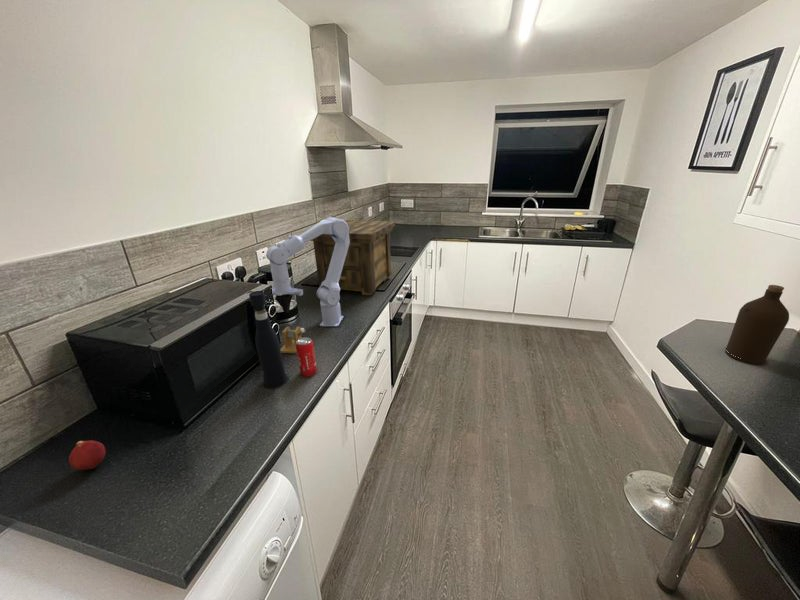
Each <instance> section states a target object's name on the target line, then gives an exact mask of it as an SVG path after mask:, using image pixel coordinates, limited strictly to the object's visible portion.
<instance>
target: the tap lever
mask: <svg viewBox="0 0 800 600" xmlns="http://www.w3.org/2000/svg"><path fill="white" fill-rule="evenodd" d="M294 330H295V329H290V330H288V333H287V337H292V338H294V336H293V332H294ZM300 330H301V336H305V334H306V333H307V331H306V329H305V328H304V327H300Z"/></svg>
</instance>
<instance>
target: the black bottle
mask: <svg viewBox="0 0 800 600" xmlns="http://www.w3.org/2000/svg"><path fill="white" fill-rule="evenodd" d="M248 296H249V301H250V305H251V306H252V307H253V308H254V317H255V319H254V321H255V326H256V330H255V337H254V338H255V340H254V341H255V347H256V352H257V357H258V361H259V365H260V369H261V374H262V377H263V381H264V385H265V387H266V388H271V389H272V388H277V387H280V386H282V385H283V384H285V383H286V382H287V375H286V370H285V366H284V360H283V355H282V353H281V350H280V349H281V346H280V340H279V337H278V335H277V333H276V331H275V329H274V328H273V326H272V325H271V321H270V316H269V315H268V311H267V310H266V307H265V305H266V304H267V300H266V295H264V290H256V291H255V290H254V291H251V292H249V294H248Z"/></svg>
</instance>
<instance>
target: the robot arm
mask: <svg viewBox="0 0 800 600" xmlns="http://www.w3.org/2000/svg"><path fill="white" fill-rule="evenodd" d="M344 220H345V219H341V218H337V217H336V218H335V217H333V216H327V217H326V218H324V219H321V220H319V222H317V223H316V224H315V225H313V226H312V227H310V228H309V229H307V230H305V231H304V232H302V233H301V234H300V235H295V234H293V235H292V234H290V235H288V236H287V238H286V239H285V240H283V241H281V242H277V243H276V245H272V246H269V248H267V251H266V254H265V257H266V259H267V260H268V261H269V265H270V272H271V278H272V282H273V288H271V289H272V295H271V296H274V300H275V301H276V302H277V303H278V304H279V306H280V307H281V309H282V312H283V313H284V314H289V313H290V311H291V302H292V300H293V296H298V297H301V296H303V295H304V289H302V288H295V287H292V286H291V281H290V275H289V270H288V264H287V261H288V259H289V258H290V257H292V256H293V255H295V254H296V253H298V252H300V251H301V250H303V249H304V247H305V244H306V243H308V242H311V241H310V240H312V239H314V238H316V237H318V236H320V235H321V234H330V235H331V236H332V238H333V239H334V241H335V247H334V251H333V254H332V258H331V261H330V265H329V268H328V272H327V276H326V279H325V280H324V281H323V282H322V283H321V286H320V288H319V287H318V289H317V290H316V297H317V298H318V299H319V301H320V302H319V305H320V311H321V312H320V313H321V320H322V321H321V322H320V323H319V326H320V327H339V326H340V324H341V322H342V320H343V318H344V315H342V310H341V303H340V299H341V295H340V294H341V293H340V292H341V289H340V287H339V284H338V283H339V279H340V276H341V272H342V268H343V265H344V261H345V258H346V254H347V251H348V247H349V244H350V239H349V226H348V225H347V223H346V222H345V221H344Z"/></svg>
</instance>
